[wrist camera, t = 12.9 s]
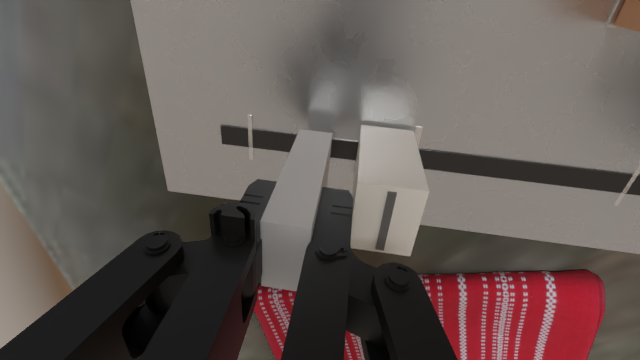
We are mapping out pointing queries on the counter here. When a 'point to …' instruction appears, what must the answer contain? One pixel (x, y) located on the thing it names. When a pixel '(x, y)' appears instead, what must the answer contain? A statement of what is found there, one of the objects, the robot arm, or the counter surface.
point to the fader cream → (387, 191)
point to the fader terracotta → (629, 15)
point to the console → (411, 103)
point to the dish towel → (486, 314)
